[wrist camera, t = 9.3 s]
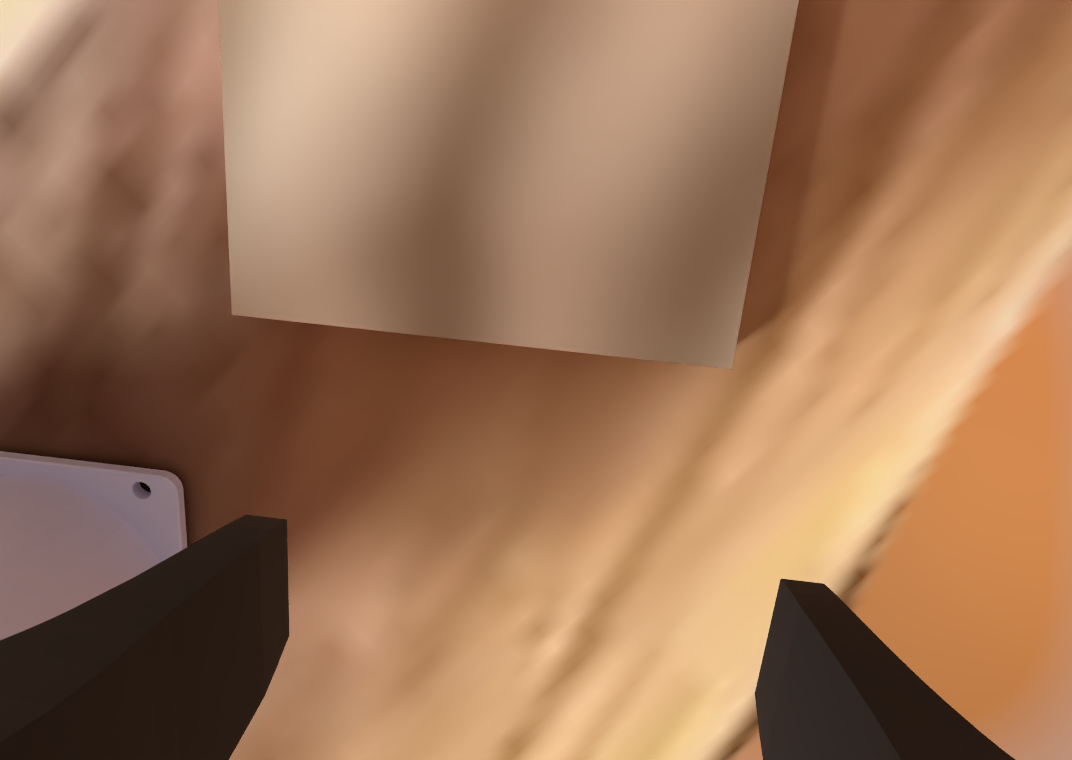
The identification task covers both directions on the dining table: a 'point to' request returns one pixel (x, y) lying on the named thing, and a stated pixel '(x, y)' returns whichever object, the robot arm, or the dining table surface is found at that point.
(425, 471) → the dining table surface
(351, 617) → the dining table surface
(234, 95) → the thin beige base plate
